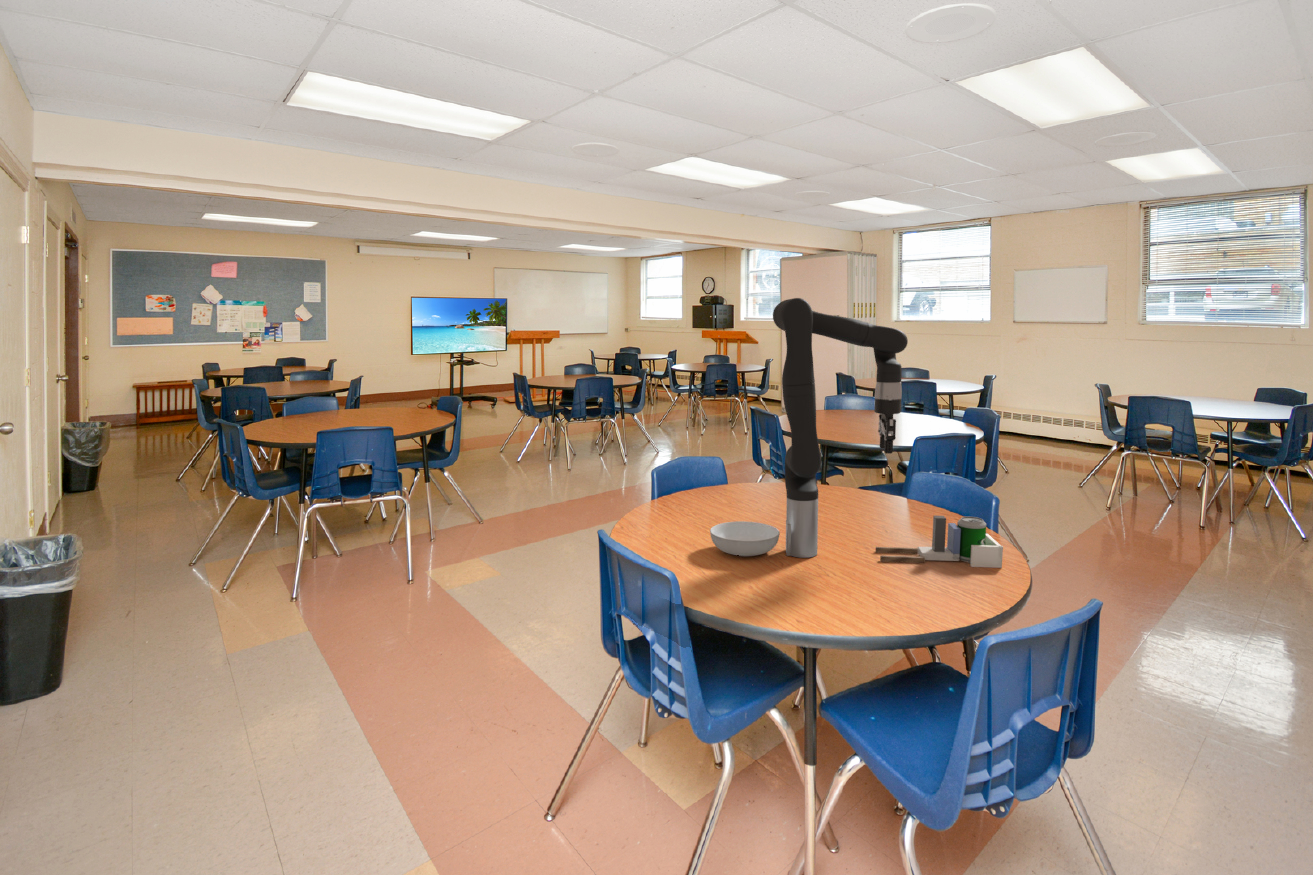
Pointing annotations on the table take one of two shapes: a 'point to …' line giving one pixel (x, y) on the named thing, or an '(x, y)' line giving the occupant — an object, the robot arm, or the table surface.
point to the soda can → (970, 535)
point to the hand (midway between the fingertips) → (885, 450)
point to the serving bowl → (744, 537)
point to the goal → (987, 554)
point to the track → (899, 558)
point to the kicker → (942, 542)
